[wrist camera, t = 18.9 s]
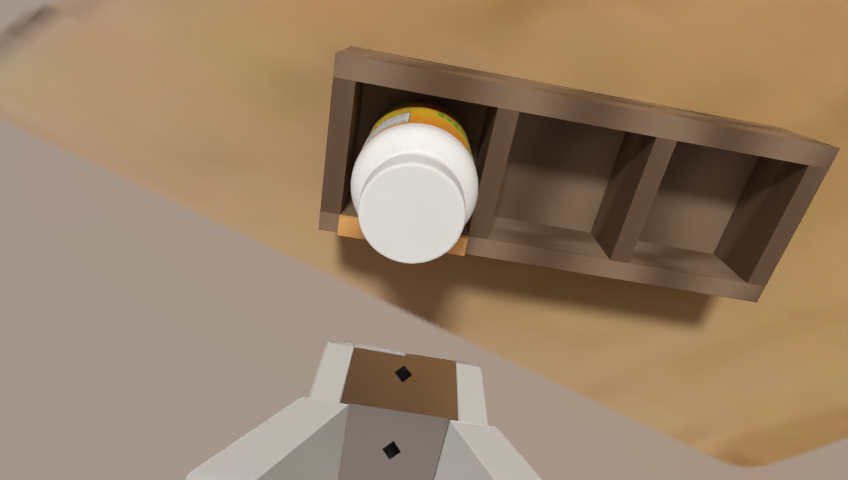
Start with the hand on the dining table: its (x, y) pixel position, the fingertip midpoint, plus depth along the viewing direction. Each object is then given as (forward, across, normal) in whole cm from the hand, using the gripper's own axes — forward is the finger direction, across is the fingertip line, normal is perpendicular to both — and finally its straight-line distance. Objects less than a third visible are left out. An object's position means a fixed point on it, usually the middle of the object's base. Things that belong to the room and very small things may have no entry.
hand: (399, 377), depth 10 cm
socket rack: (+20, -7, 0) cm, 21 cm away
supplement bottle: (+19, 0, 0) cm, 19 cm away
